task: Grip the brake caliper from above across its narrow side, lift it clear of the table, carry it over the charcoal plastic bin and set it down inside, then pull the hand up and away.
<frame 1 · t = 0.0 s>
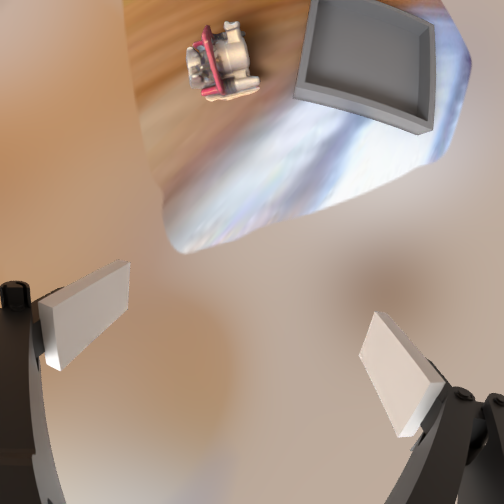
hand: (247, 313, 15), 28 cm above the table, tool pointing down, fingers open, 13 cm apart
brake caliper: (222, 70, 37), on the table
parts bin: (365, 60, 35), on the table
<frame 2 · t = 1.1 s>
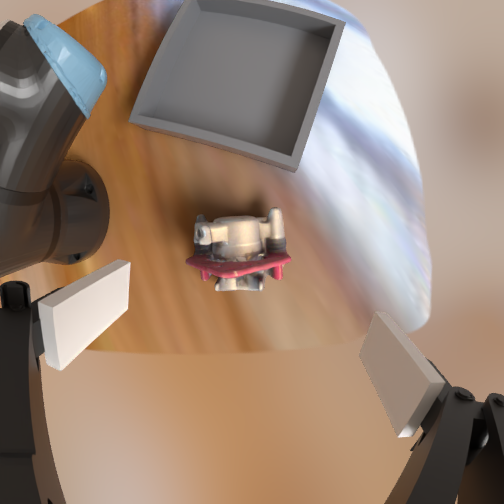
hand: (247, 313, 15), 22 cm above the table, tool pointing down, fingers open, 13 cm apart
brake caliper: (242, 247, 36), on the table
parts bin: (242, 76, 32), on the table
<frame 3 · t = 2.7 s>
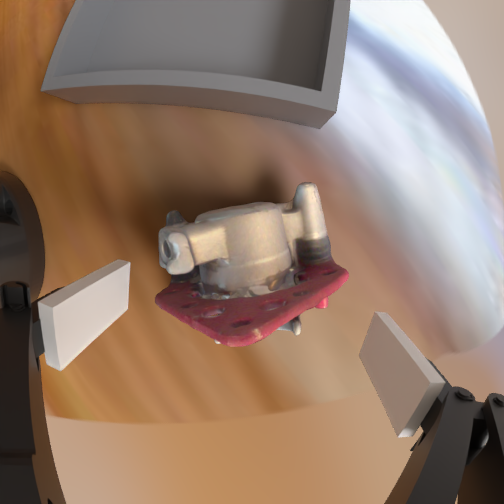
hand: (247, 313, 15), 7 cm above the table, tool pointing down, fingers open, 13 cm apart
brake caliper: (251, 257, 22), on the table
parts bin: (212, 2, 17), on the table
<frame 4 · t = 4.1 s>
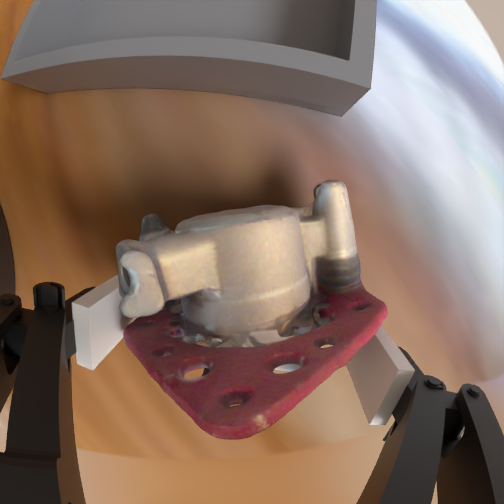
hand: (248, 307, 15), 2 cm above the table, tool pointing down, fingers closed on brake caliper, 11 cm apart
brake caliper: (254, 276, 17), on the table, touching gripper
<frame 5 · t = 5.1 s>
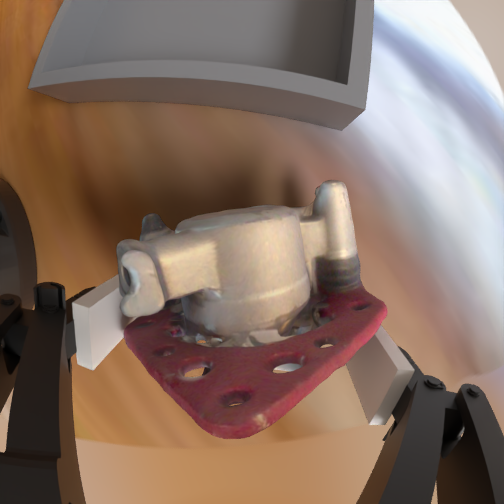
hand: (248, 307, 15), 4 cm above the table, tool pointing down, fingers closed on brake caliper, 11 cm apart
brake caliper: (254, 276, 17), point 2 cm above the table, touching gripper
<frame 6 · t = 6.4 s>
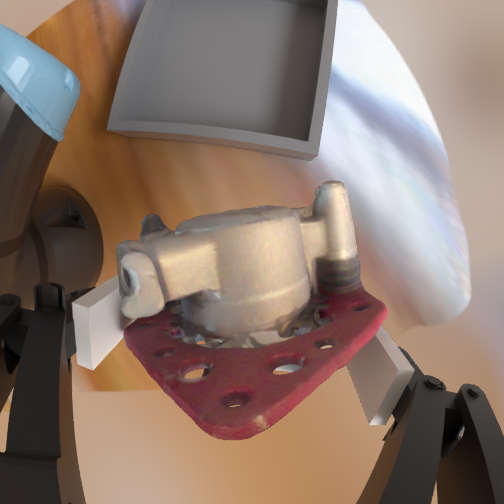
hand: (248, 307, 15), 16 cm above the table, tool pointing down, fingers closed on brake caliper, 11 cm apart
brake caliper: (254, 277, 17), point 14 cm above the table, touching gripper
parts bin: (231, 60, 27), on the table
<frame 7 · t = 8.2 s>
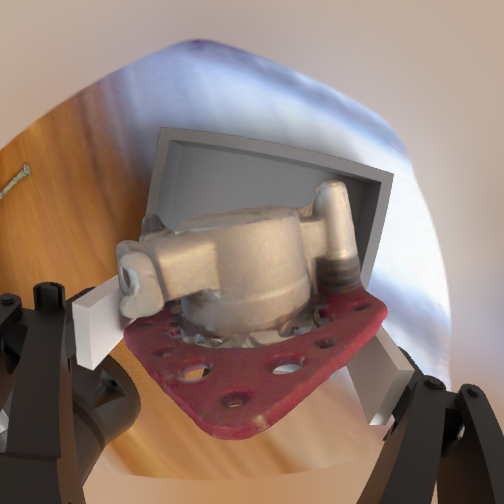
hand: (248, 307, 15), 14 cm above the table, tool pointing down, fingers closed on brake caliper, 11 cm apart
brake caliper: (254, 277, 17), point 13 cm above the table, touching gripper
parts bin: (257, 252, 29), on the table
when the fingers open (5 cm above the table, at t = 10.7 s): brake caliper drops 2 cm, resting on parts bin.
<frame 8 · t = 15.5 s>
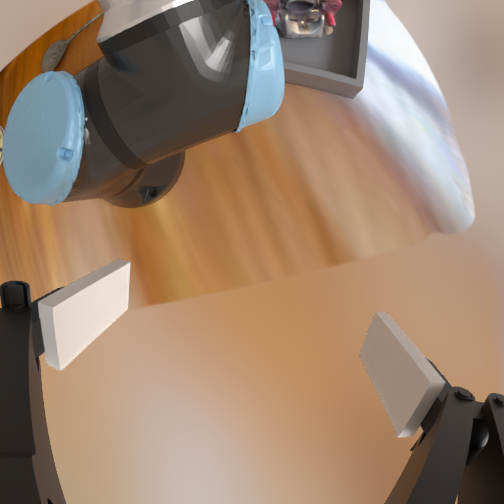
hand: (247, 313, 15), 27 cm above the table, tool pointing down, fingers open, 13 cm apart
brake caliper: (297, 18, 33), point 1 cm above the table, touching parts bin
parts bin: (294, 28, 34), on the table
soupspoon: (84, 34, 35), on the table
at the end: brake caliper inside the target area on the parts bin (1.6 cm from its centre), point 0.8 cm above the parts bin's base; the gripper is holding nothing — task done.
